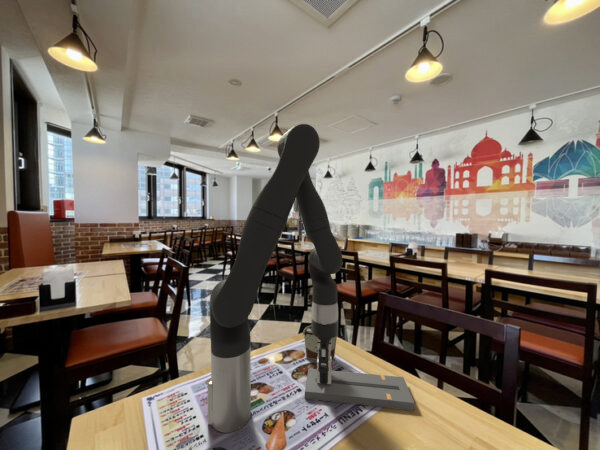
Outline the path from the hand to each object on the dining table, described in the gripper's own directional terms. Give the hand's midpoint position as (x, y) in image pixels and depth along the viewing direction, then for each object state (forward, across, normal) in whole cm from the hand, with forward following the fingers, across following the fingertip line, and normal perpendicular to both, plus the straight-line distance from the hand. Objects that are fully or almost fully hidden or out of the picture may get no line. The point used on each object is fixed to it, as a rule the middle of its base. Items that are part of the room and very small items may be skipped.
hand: (324, 372), depth 70 cm
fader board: (+4, 0, +9) cm, 10 cm away
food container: (+5, -16, -2) cm, 17 cm away
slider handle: (+2, 0, 0) cm, 2 cm away
